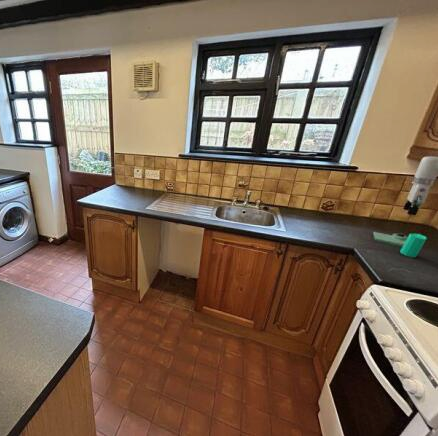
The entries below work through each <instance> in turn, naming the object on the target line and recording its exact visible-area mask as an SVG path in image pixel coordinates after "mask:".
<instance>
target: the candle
mask: <svg viewBox="0 0 438 436" xmlns="http://www.w3.org/2000/svg"><path fill="white" fill-rule="evenodd" d="M407 237H408V238H407V240H406V242H405V243H404V245H403V247H402V246H401V249H400V251H399V253H400V254H402V255H404V256H406V257H410V258H416V257H417V256H418V254H419V252H420V251H421V249H422V247H423V246H424V244H425V242H426V240H427V239H428V237H427V236H425V235H422V234H420V232H419V233H409V235H407Z"/></svg>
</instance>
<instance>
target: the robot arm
mask: <svg viewBox="0 0 438 436" xmlns="http://www.w3.org/2000/svg"><path fill="white" fill-rule="evenodd" d="M437 177H438V156H424V157H422V159H421V160H420V162H419V165H418V167H417V169H416V172H415V174H414V177H413V179H412V181H411V184H412V185H411V188H410V191H409V193H408V195H407V200H406V202H405V203H404V206H403V208H402V209H403V210H404V211H407V213H406V215H410V216H416V215H417V213H418V211H419V210H420V207H421V205H423V204H425V202H426V200H427V197H428V195H429V192H430V189H431V187H433V185H434V183H435V181H436V179H437Z"/></svg>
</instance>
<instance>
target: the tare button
mask: <svg viewBox="0 0 438 436" xmlns="http://www.w3.org/2000/svg"><path fill="white" fill-rule="evenodd" d="M396 234H397V236H400V237H404V236H406V233H404V232H397V233H396Z"/></svg>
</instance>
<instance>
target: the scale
mask: <svg viewBox="0 0 438 436" xmlns="http://www.w3.org/2000/svg"><path fill="white" fill-rule="evenodd" d="M372 234H373V239H374V241H376V242H381V243H385V244H387V245H388V244H389V245H393V246H398V247H401V248H402V247H403V245H404V243H405V242H406V240H407V238H408V235H407V236H406V235H405V236H404V237H400V236H397V234H398V233H392V234H386V233H382V232H377V231H373V232H372Z"/></svg>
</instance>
